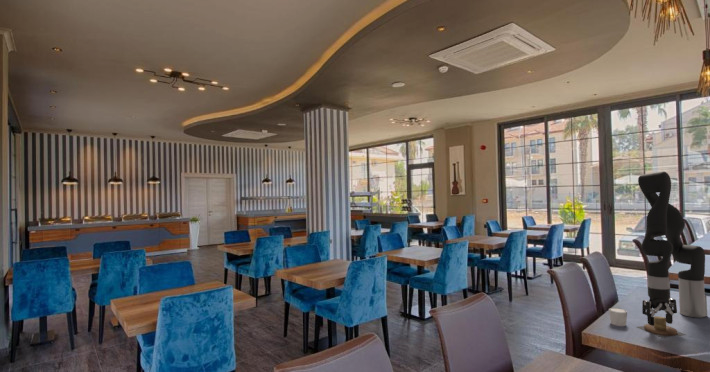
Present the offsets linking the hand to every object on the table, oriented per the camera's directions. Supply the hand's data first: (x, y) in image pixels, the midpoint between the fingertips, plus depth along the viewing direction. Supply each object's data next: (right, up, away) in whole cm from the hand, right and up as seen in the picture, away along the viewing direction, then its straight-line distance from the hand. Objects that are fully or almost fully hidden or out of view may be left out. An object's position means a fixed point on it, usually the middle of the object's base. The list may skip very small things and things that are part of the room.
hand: (660, 324), depth 162 cm
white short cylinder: (-11, -4, +10) cm, 15 cm away
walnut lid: (0, -3, 0) cm, 3 cm away
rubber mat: (0, -4, 0) cm, 4 cm away
